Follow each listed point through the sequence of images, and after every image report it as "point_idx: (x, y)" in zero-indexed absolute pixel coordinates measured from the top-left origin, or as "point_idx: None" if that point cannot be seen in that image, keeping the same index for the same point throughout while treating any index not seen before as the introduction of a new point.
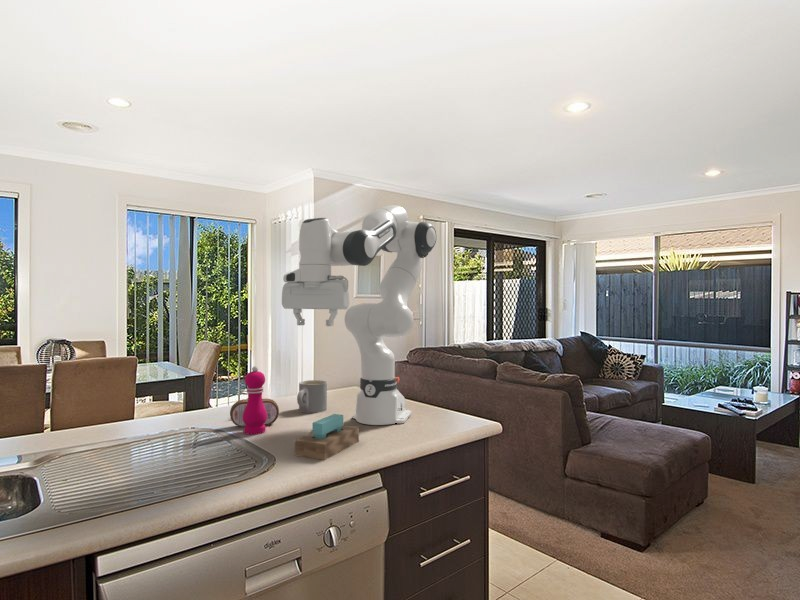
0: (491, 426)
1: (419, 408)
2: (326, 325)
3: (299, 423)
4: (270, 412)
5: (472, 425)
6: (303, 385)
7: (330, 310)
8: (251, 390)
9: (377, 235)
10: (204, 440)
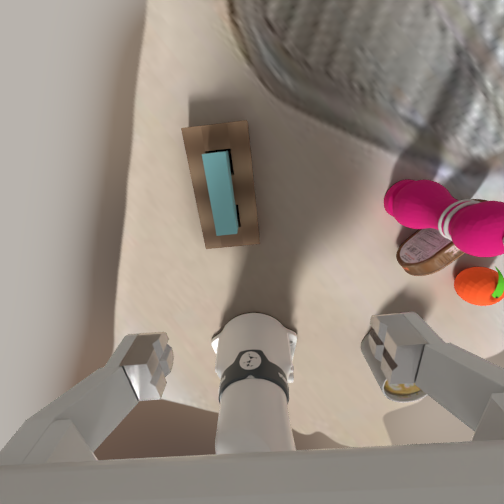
0: None
1: None
2: (159, 332)
3: (357, 274)
4: (413, 253)
5: None
6: None
7: (34, 457)
8: (464, 203)
9: None
10: (467, 102)
